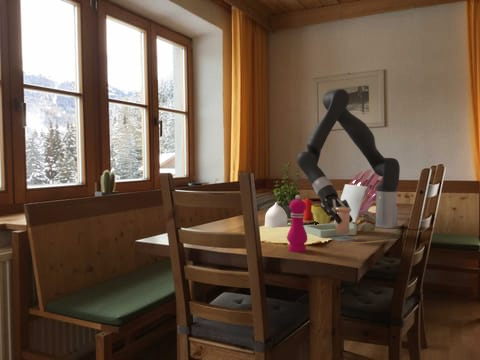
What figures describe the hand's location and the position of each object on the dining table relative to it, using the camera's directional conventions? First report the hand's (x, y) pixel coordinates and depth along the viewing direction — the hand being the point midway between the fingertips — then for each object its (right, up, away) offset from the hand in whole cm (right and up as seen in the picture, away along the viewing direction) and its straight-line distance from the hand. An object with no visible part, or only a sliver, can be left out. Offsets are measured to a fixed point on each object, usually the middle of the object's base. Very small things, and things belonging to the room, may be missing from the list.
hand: (345, 221), depth 169 cm
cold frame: (-2, -7, +15) cm, 16 cm away
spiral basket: (+30, -4, +71) cm, 77 cm away
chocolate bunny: (+15, -7, +21) cm, 26 cm away
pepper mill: (-22, -9, -16) cm, 28 cm away
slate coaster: (-1, -8, +2) cm, 8 cm away
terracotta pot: (-1, -4, +2) cm, 5 cm away
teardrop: (-25, -6, +36) cm, 44 cm away
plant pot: (-2, -6, +37) cm, 38 cm away
